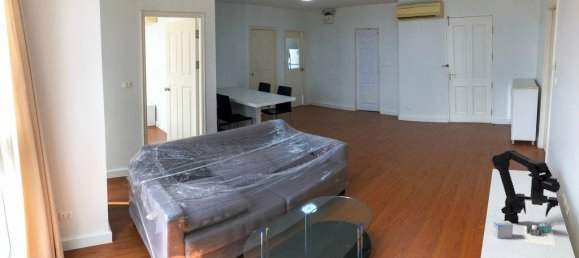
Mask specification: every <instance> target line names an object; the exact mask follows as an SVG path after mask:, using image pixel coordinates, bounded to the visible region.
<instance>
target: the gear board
mask: <svg viewBox="0 0 579 258" xmlns="http://www.w3.org/2000/svg"><path fill="white" fill-rule="evenodd" d="M531 225H532V229H536V230H537V226H538V227H541V228H542V235H539V236H535V235H533V236H532V235H530V234H527V226H528V225H523V234H524V242H526V243H530V244H531V243H532V244H537V245H545V246H551V247H556V244H555V243H556V242H555V239H554V232H553V231H554V230H553V229H552V228H553V226H552V225H551V224H548V221H543V222H540V223H539V224H538V225H536V224H531Z"/></svg>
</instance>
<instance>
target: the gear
mask: <svg viewBox="0 0 579 258" xmlns="http://www.w3.org/2000/svg"><path fill="white" fill-rule="evenodd" d="M532 225H533V224H530V225H526V226H527V234H530V235H532V236H533V235H535V236H539V235H542V228H541V227H539V225H536V226H537V230H536V229H532Z"/></svg>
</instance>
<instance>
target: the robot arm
mask: <svg viewBox="0 0 579 258" xmlns="http://www.w3.org/2000/svg"><path fill="white" fill-rule="evenodd" d="M491 161H492V165H493V166H494V168H495V169H496V170H497V171H498V173H499V175H500V177H499V178H500V181H501V183H502V187H503V191H504V193H505V200H504V205H505V206H503V207H501V209H500V210H501V213H502V214H503V215H504V219H503V221H509V222H511V223H512V224H513V225H514V224H515V225H516V224H519V215H518V214H521V213H522V211H523V213H524V215H527V208H526V206H527V205H526V201H531V205H534V206H535V205H536V206H543V204H546V208H545V214H544V215H545V217H548V215H549V212H550V211H551V209H552V208H556V207H558V206H559V198H558V197H556V196H548V195H544V193H545V192H544V191H548V192H551V193H553V194H554V193H557V192H559V190H560V188H561V183H560V182H559V181H558V178H555V177H553V174H552V172H551V171H550V168H549V167H548V164H547V163H546V162H545V161H541V160H537V159H531V158H530V157H528V156H526V155H524V154H523V153H522V154H521V153H520V152H518V151H517V150H515V149H511V150H506V151H504V152H502V153H499V154H496V155H493V157H492V159H491ZM510 161H514V162H515V163H517V164H520V165H522V167H525V168H526V170H528V172H530V173H528V174H527V175H528V177H531V181H530V182H531V183H530V196H526V195H525V194H526V193H520V192H519V193H516V190H515V187H514V184H513V180H512V177H511V173H510V171H509V170H510V169H509V168H510V165H511V162H510Z"/></svg>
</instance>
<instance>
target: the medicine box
mask: <svg viewBox="0 0 579 258" xmlns="http://www.w3.org/2000/svg"><path fill="white" fill-rule="evenodd" d="M513 227H514V224H512V223H511V222H509V221H504V220H500V221H498V220H497V221H493V230H492V231H493V232H492V235H493V236H494V237H495V238H496V239H509V238H510V239H512V238H513V230H514V229H513Z"/></svg>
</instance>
